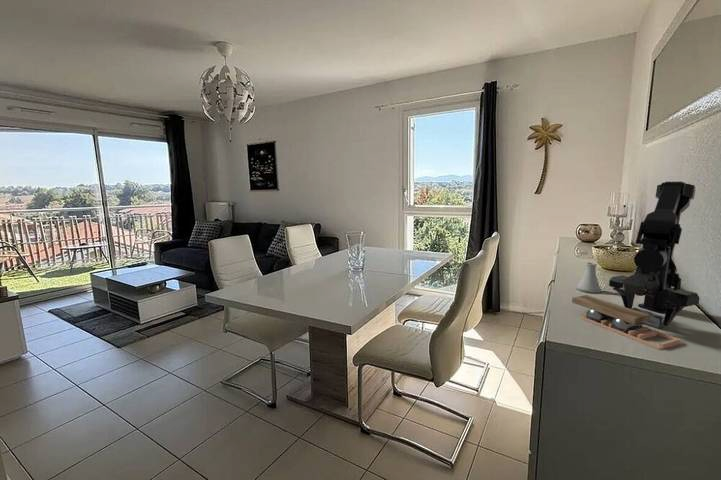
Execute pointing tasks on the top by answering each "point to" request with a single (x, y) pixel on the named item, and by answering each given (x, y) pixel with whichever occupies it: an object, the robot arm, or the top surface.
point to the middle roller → (624, 325)
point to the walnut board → (611, 309)
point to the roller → (653, 319)
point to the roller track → (639, 334)
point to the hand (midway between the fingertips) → (646, 319)
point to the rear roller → (597, 316)
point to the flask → (589, 280)
